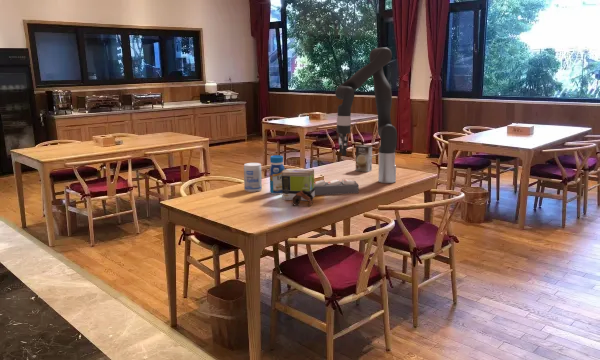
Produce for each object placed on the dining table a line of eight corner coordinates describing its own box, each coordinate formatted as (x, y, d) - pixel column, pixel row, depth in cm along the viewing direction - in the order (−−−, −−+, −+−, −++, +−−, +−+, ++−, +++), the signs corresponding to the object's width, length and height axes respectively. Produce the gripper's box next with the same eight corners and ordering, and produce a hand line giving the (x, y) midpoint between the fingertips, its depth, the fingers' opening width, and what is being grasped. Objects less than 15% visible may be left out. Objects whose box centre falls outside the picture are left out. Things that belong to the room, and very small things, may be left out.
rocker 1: (324, 182, 270) (323, 179, 270) (325, 184, 266) (324, 181, 265) (313, 185, 270) (312, 182, 269) (314, 187, 265) (313, 184, 265)
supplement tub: (246, 193, 271) (245, 166, 268) (242, 189, 280) (241, 163, 276) (264, 191, 274) (263, 165, 271) (259, 187, 283) (258, 161, 279)
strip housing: (354, 188, 275) (354, 180, 274) (358, 193, 266) (358, 184, 265) (309, 191, 273) (309, 182, 272) (311, 195, 264) (311, 186, 263)
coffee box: (354, 170, 320) (355, 146, 317) (359, 169, 326) (359, 144, 322) (368, 172, 316) (368, 147, 312) (372, 170, 321) (372, 145, 317)
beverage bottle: (275, 190, 276) (274, 154, 271) (288, 191, 272) (287, 155, 267) (266, 193, 269) (265, 157, 264) (280, 195, 265) (278, 158, 260)
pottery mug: (296, 202, 253) (304, 188, 251) (310, 213, 249) (318, 199, 247) (284, 202, 242) (292, 188, 241) (297, 213, 238) (306, 199, 236)
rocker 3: (352, 183, 272) (353, 180, 271) (354, 185, 268) (354, 182, 267) (341, 182, 271) (342, 178, 271) (343, 183, 267) (344, 180, 266)
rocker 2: (338, 182, 271) (337, 178, 270) (340, 184, 267) (339, 180, 266) (327, 184, 270) (327, 181, 270) (329, 186, 266) (328, 183, 266)
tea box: (315, 196, 261) (314, 168, 258) (310, 201, 252) (309, 172, 249) (287, 195, 265) (286, 167, 262) (281, 200, 256) (281, 171, 253)
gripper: (353, 125, 261) (352, 156, 265) (348, 122, 275) (347, 151, 279) (339, 125, 261) (338, 156, 264) (334, 122, 274) (333, 151, 278)
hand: (342, 154), depth 271 cm, fingers open, 8 cm apart
